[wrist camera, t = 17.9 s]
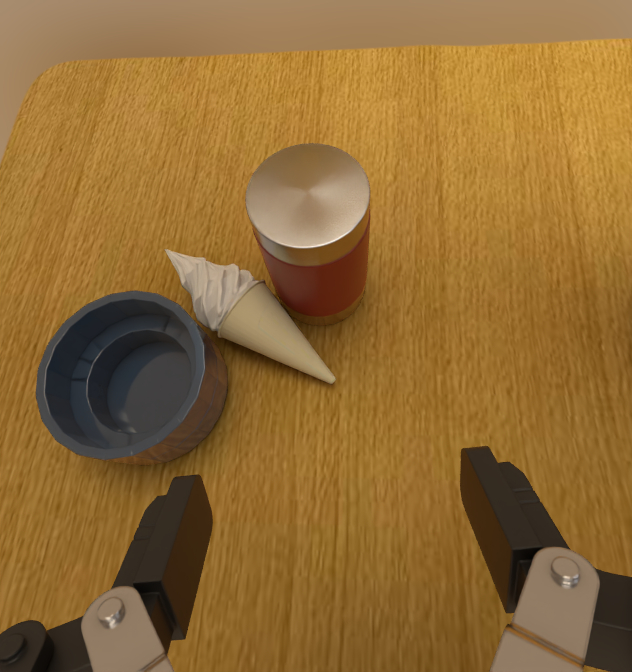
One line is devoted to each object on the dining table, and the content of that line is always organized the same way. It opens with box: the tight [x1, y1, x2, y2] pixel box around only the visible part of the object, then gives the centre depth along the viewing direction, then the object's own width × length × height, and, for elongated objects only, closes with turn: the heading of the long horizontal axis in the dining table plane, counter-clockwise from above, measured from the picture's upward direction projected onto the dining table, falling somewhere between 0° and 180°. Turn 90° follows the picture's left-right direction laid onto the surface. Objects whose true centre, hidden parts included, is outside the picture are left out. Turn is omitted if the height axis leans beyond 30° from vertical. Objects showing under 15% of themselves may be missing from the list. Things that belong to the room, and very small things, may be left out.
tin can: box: [245, 143, 370, 326], centre depth 29 cm, size 7×7×11 cm
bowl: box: [36, 291, 228, 465], centre depth 30 cm, size 10×10×6 cm
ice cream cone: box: [165, 249, 336, 384], centre depth 31 cm, size 5×5×15 cm
